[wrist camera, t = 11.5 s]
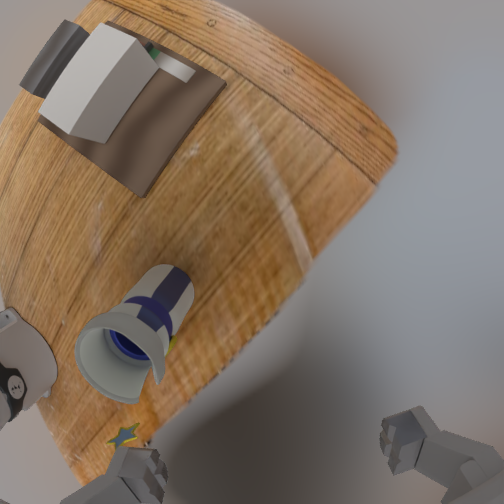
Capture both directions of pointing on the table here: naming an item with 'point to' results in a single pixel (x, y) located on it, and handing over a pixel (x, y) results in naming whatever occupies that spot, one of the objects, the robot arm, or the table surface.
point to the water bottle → (134, 338)
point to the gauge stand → (132, 108)
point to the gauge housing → (99, 84)
